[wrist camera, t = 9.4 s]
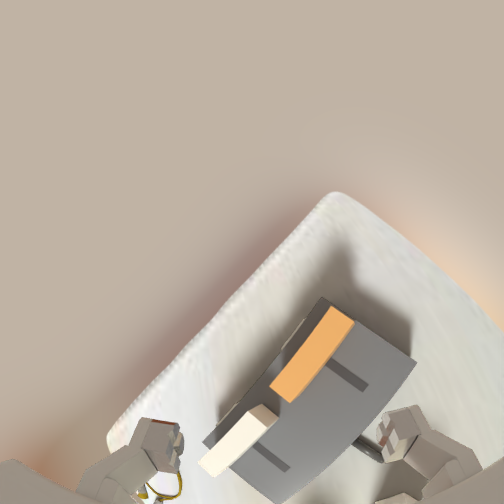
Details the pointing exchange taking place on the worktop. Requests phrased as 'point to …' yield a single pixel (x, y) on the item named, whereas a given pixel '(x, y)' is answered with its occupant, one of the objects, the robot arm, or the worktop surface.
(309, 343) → the orange switch
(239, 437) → the white switch
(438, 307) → the worktop surface
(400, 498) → the jar
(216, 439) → the switch box
